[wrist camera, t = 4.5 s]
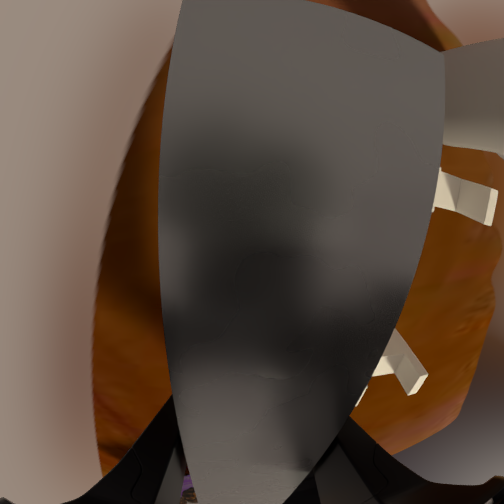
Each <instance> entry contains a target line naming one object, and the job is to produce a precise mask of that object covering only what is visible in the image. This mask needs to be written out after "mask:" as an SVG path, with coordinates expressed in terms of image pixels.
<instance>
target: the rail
mask: <svg viewBox="0 0 504 504" xmlns="http://www.w3.org/2000/svg"><path fill="white" fill-rule="evenodd" d="M444 117H445V65H444V54H442V53H440V52H438V51H437V50H435V49H433V48H431V47H430V46H428V45H426V44H424V43H422V42H420V41H418V40H416V39H414V38H412V37H410V36H408V35H406V34H404V33H402V32H400V31H397V30H395V29H393V28H391V27H388V26H386V25H383V24H381V23H379V22H376V21H373V20H371V19H368V18H365V17H362V16H360V15H357V14H354V13H351V12H347V11H344V10H341V9H337V8H334V7H330V6H327V5H323V4H319V3H314V2H310V1H305V0H183V1H182V5H181V10H180V14H179V19H178V24H177V28H176V33H175V38H174V43H173V48H172V54H171V60H170V66H169V73H168V80H167V87H166V95H165V104H164V113H163V123H162V135H161V149H160V166H159V194H158V243H159V271H160V289H161V303H162V315H163V326H164V335H165V344H166V352H167V360H168V367H169V374H170V381H171V387H172V393H173V399H174V405H175V410H176V416H177V421H178V426H179V431H180V435H181V440H182V444H183V449H184V453H185V457H186V461H187V465H188V469H189V473H190V476H191V480H192V484H193V487H194V491H195V494H196V497H197V500H198V504H283V502H284V501H285V500H286V499H287V498H288V497H289V496H290V495H291V494H292V492H293V491H294V490H295V489H296V488H297V487H298V486H299V484H300V483H301V482H302V481H303V480H304V478H305V477H306V476H307V475H308V473H309V472H310V471H311V470H312V468H313V467H314V466H315V465H316V463H317V462H318V461H319V459H320V458H321V457H322V455H323V454H324V452H325V451H326V450H327V448H328V447H329V445H330V444H331V443H332V441H333V440H334V438H335V437H336V435H337V434H338V432H339V431H340V429H341V428H342V426H343V425H344V423H345V422H346V420H347V418H348V417H349V415H350V414H351V412H352V410H353V409H354V407H355V405H356V404H357V402H358V400H359V398H360V397H361V395H362V393H363V391H364V390H365V388H366V386H367V384H368V382H369V380H370V379H371V377H372V375H373V373H374V371H375V369H376V367H377V365H378V363H379V361H380V359H381V357H382V355H383V353H384V351H385V348H386V346H387V344H388V342H389V340H390V337H391V335H392V333H393V330H394V328H395V326H396V323H397V321H398V319H399V316H400V314H401V311H402V308H403V306H404V303H405V301H406V298H407V295H408V292H409V290H410V287H411V284H412V281H413V278H414V275H415V272H416V269H417V265H418V262H419V259H420V255H421V252H422V248H423V245H424V241H425V237H426V234H427V230H428V225H429V221H430V217H431V212H432V208H433V203H434V198H435V193H436V187H437V181H438V175H439V168H440V161H441V153H442V144H443V132H444Z"/></svg>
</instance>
